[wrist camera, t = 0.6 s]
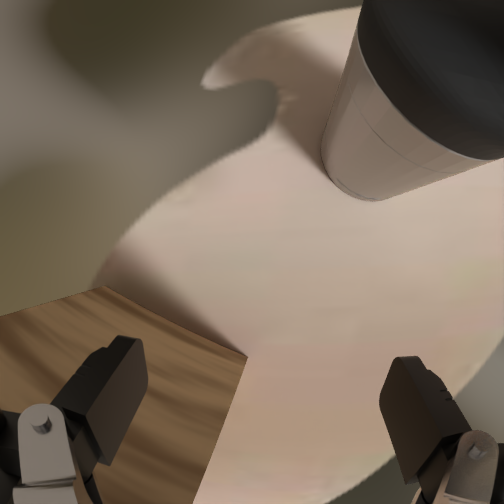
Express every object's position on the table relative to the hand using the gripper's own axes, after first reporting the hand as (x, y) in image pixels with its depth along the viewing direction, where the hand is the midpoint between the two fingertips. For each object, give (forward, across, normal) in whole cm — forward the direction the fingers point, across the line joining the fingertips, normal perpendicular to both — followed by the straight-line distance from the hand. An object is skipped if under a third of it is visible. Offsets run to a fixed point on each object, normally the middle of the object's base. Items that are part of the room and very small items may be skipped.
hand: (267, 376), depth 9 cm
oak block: (+17, +11, +14) cm, 24 cm away
